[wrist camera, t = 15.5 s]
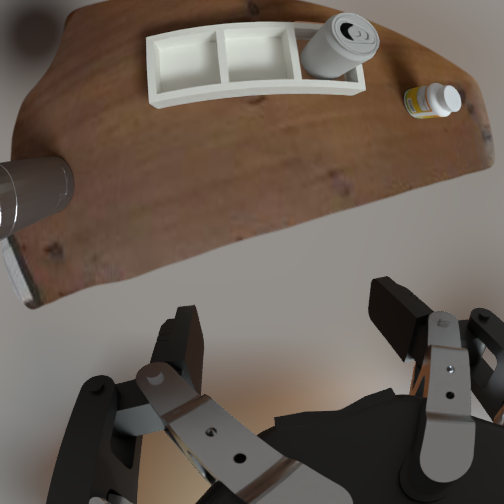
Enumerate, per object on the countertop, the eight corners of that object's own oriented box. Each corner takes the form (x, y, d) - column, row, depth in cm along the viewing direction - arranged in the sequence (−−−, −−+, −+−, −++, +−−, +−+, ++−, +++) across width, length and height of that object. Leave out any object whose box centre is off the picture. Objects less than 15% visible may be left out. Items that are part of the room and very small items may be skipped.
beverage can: (299, 40, 29) (327, 2, 18) (341, 49, 30) (381, 20, 19) (297, 77, 31) (328, 48, 20) (340, 86, 32) (383, 65, 21)
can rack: (157, 108, 32) (149, 103, 28) (153, 46, 29) (146, 35, 24) (351, 95, 34) (365, 90, 30) (341, 36, 30) (353, 26, 26)
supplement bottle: (428, 101, 34) (466, 96, 25) (421, 124, 36) (460, 123, 27) (407, 82, 33) (444, 73, 24) (399, 106, 35) (437, 100, 26)
